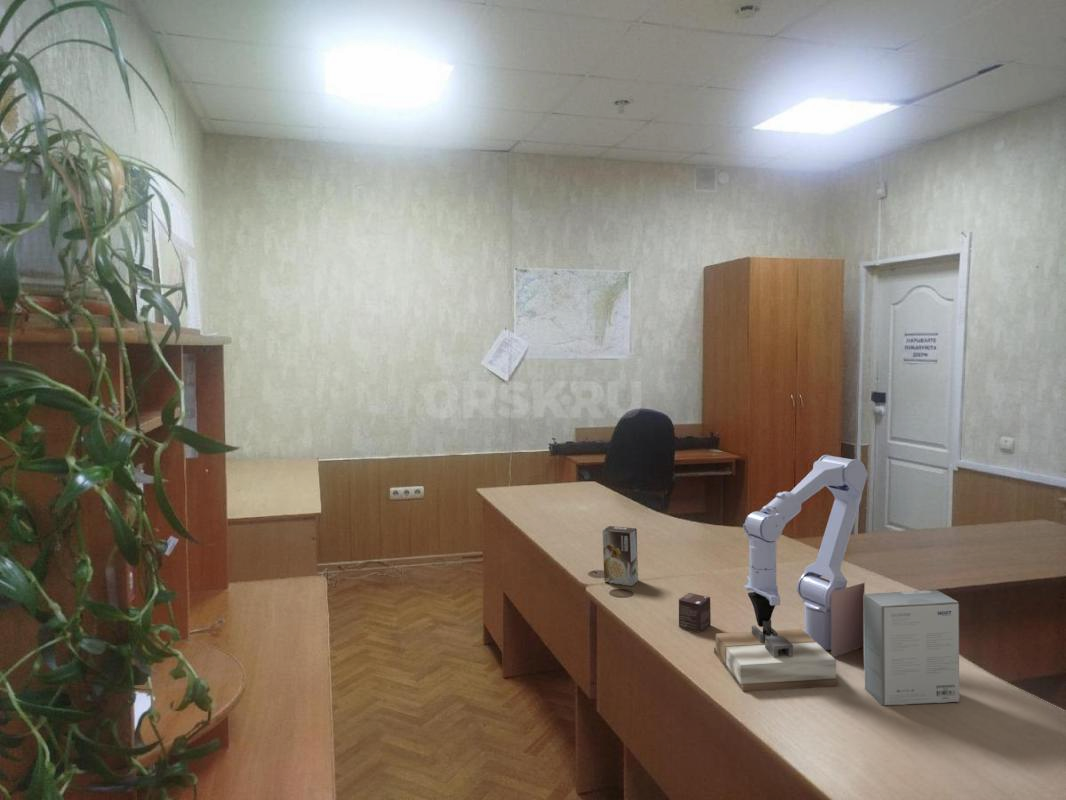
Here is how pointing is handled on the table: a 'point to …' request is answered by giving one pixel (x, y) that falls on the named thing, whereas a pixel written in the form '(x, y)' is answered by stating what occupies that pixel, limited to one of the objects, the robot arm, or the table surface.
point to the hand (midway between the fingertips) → (763, 625)
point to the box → (694, 612)
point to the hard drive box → (911, 647)
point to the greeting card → (847, 619)
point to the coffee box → (620, 555)
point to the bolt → (767, 628)
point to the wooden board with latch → (775, 660)
